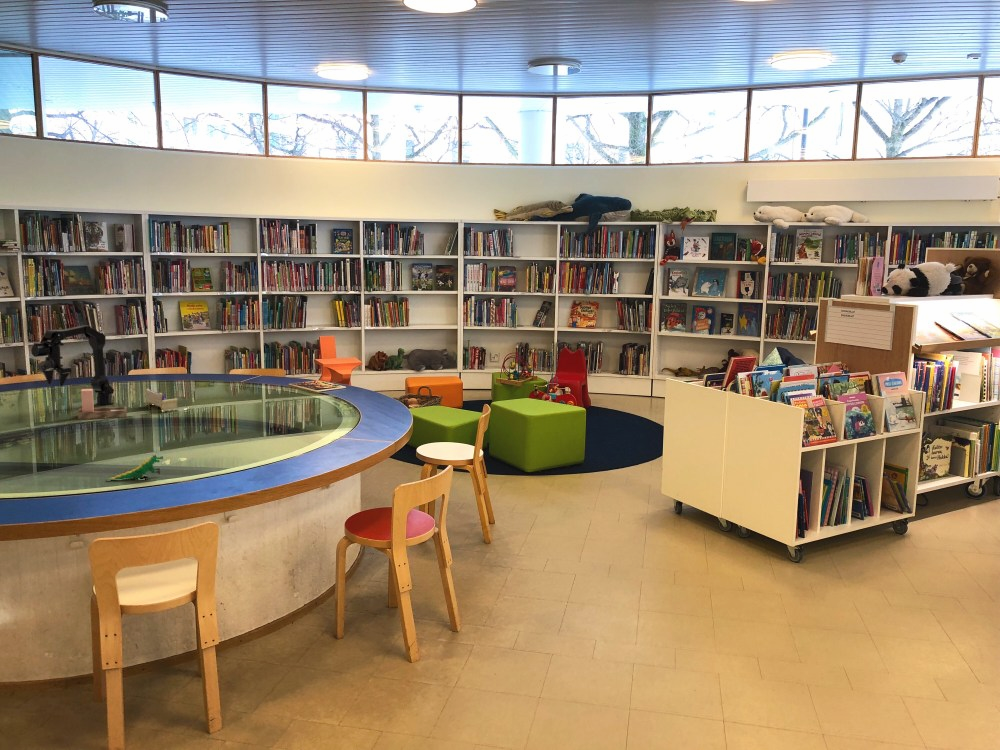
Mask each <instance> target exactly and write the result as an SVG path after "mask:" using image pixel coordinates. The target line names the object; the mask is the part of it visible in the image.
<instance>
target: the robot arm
mask: <svg viewBox="0 0 1000 750" xmlns="http://www.w3.org/2000/svg"><path fill="white" fill-rule="evenodd" d="M78 335H83V336H84V337H86V338H87V340H88V345H90V347H91V349H92V359H93V368H94V376H93V378H90V387H92V388H91V389H93V392H94V393H95V394H97V396H96V403H95V405H99V406H108V405H109V406H110V405H114V402H112V394H114V392H115V389H114V388H113V387H112V386H111V385H110V381H109V379H108V377H107V375H106V372H105V371H106V370H105V361H104V358H105V357H104V347H105V346H106V339H107V338H106V335H105V334H104V333H102V332H100V331H98V330H96V329H94V328H92V326H90V325H86V324H82V325H79V326H74V327H69V328H64V329H47V330H46V331H45V333H44V335H43V337H42V338H41V340H40V342H38V343H37V342H34V343H33V345H32V347H31V349H30V353H31V355H32V356H33V357H34V358H36V357H45V359H44V360H43V361H40V362H38V363H37V364H36V367H37V371H39V372H40V373H42V374H43V375H44V377H45V380H46V381H47V384H48V385H51V384H52V379H53V375H54V371H55V372H56V375H57V376H58V379H59V380H58V381H59V386H60V387H63V386H64V385H65V382H66V381H67V378H68V376H69V375H70V374H71V373H72V372H73V369H72V367H71V366H69V365H68V366H67V365H63V364H62V361H61V360H62V359H63V356H61V347H63V346H65V344H64V343H63V342H62V341H64V340H65V339H66V338H69V337H74V336H78Z"/></svg>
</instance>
